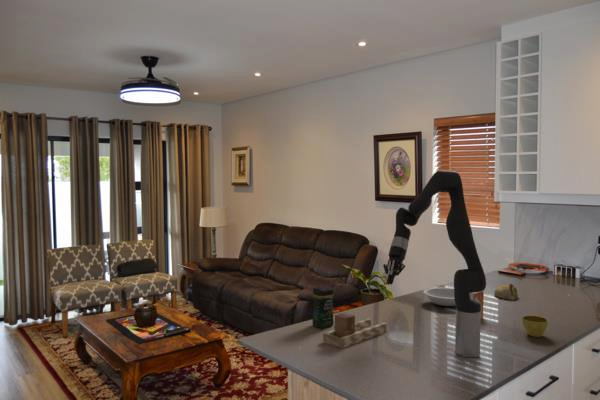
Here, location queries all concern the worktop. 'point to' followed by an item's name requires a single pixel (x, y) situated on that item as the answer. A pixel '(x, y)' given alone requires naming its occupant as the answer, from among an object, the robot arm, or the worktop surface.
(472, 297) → the small box
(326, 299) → the coffee jar
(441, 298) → the soup bowl
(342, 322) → the walnut block
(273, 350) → the worktop surface
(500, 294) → the pastry
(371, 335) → the birch chute
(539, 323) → the flower pot
